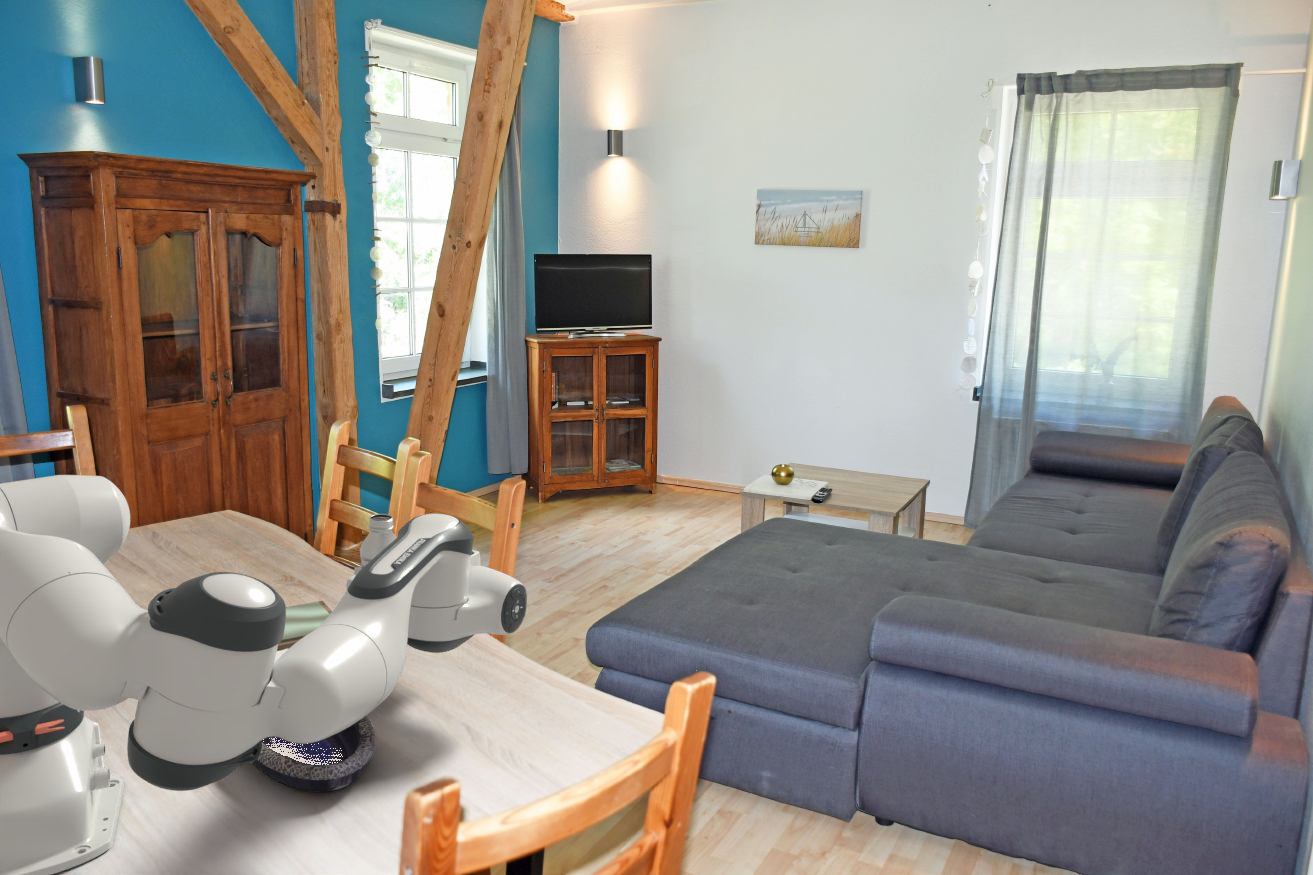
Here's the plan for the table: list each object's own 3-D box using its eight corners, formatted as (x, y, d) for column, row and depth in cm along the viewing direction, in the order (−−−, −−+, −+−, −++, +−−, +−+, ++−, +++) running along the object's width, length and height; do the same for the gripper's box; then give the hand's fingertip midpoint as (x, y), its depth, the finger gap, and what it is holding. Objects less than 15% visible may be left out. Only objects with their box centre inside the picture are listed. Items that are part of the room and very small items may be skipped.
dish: (278, 823, 112) (276, 784, 111) (209, 719, 136) (206, 685, 135) (405, 780, 122) (404, 744, 121) (319, 689, 145) (318, 658, 144)
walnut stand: (350, 648, 160) (349, 628, 159) (261, 667, 152) (259, 646, 151) (323, 616, 172) (322, 598, 172) (239, 632, 165) (238, 613, 164)
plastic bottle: (359, 647, 150) (359, 525, 146) (360, 629, 157) (359, 511, 152) (402, 645, 152) (403, 523, 148) (401, 627, 158) (402, 510, 154)
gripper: (383, 625, 137) (322, 602, 145) (487, 586, 153) (427, 568, 161) (382, 582, 136) (320, 562, 143) (486, 548, 152) (426, 531, 160)
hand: (377, 565), depth 152 cm, fingers closed on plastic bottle, 6 cm apart
